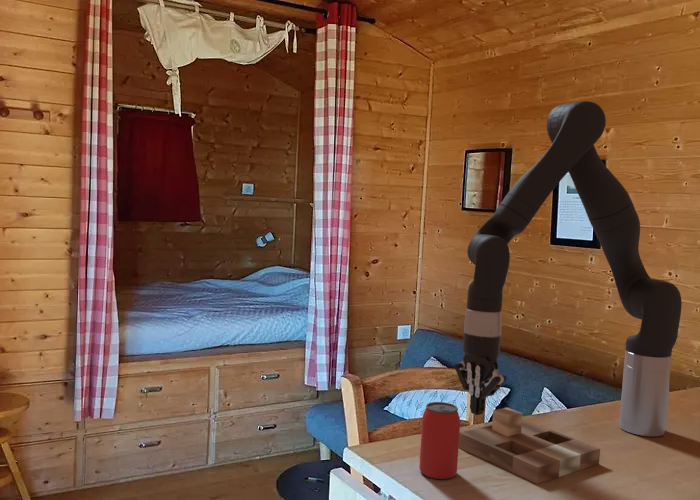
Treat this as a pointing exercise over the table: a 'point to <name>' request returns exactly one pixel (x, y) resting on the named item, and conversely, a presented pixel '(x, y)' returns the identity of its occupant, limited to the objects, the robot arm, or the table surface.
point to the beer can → (439, 440)
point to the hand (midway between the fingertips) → (476, 413)
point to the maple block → (507, 421)
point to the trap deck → (531, 451)
